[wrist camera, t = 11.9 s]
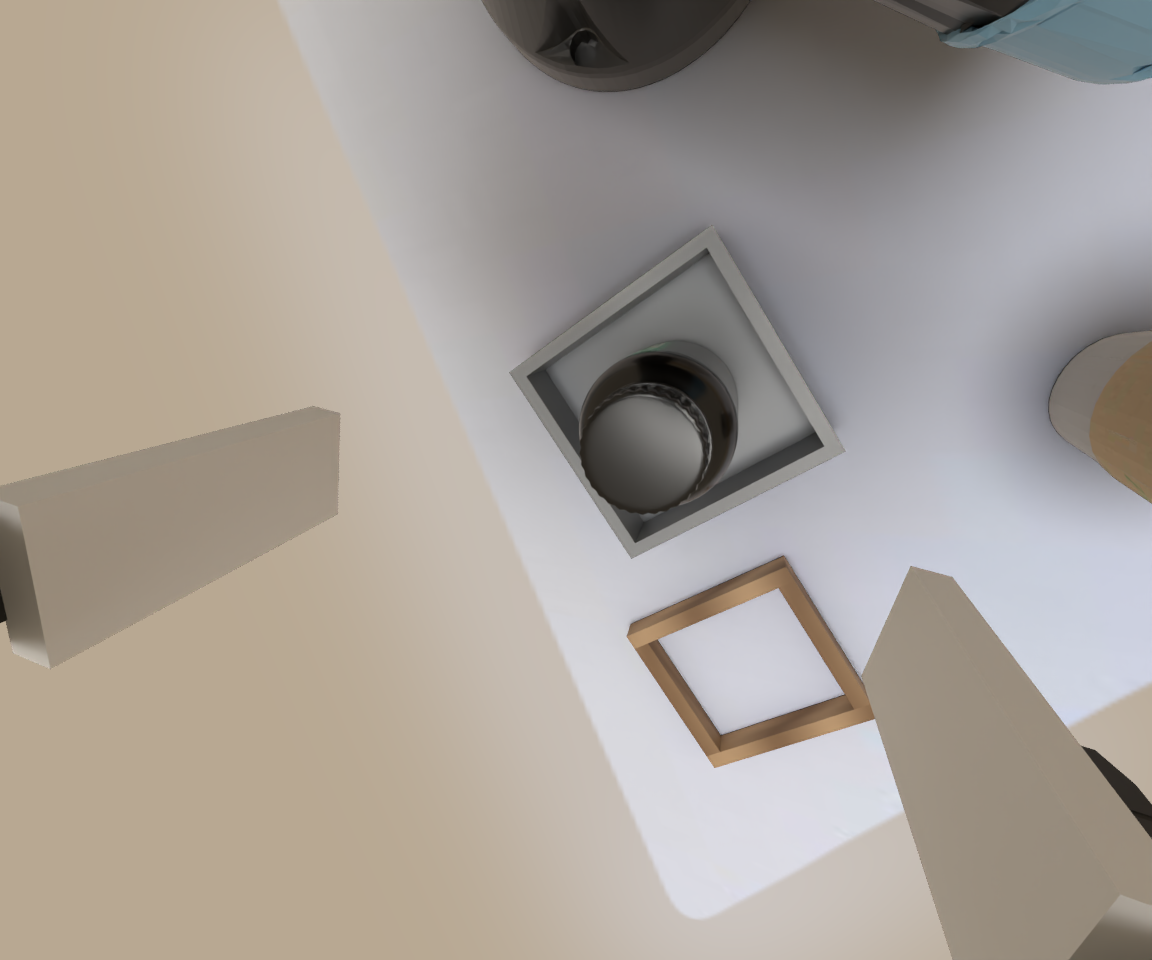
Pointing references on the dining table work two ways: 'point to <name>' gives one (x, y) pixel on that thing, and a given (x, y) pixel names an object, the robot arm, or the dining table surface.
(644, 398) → the supplement bottle
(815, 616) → the wooden square frame
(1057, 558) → the dining table surface
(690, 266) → the bin
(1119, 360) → the coffee cup
